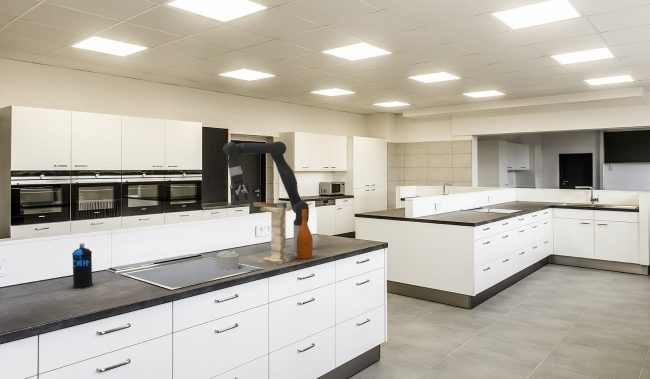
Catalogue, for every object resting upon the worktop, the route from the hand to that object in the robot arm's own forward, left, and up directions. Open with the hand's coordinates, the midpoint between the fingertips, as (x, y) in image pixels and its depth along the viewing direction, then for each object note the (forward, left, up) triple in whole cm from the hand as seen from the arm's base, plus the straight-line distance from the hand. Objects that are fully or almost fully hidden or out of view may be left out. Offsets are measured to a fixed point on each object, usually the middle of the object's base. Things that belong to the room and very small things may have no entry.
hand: (242, 200), depth 272 cm
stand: (-2, +24, -35) cm, 42 cm away
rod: (-2, +19, -3) cm, 19 cm away
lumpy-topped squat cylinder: (+24, +10, -35) cm, 44 cm away
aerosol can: (+88, -22, -35) cm, 98 cm away
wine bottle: (-19, +33, -35) cm, 52 cm away
